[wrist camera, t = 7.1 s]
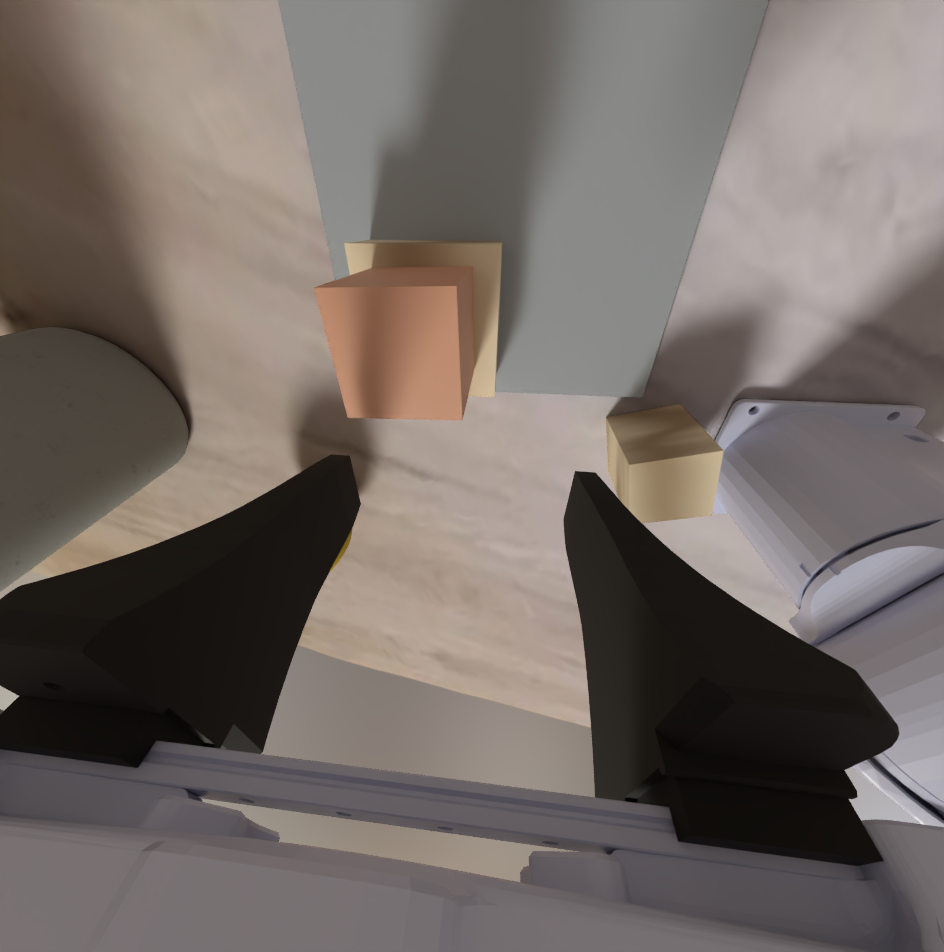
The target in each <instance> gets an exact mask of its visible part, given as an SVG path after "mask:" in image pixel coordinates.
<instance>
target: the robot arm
mask: <svg viewBox="0 0 944 952" xmlns="http://www.w3.org/2000/svg"><path fill="white" fill-rule="evenodd" d="M754 406H755V408H754V410H752V411H750V412H749V410H750V408H752V407H754ZM891 413H892V414H891ZM890 414H891V415H890ZM925 414H926V411H925V409H923V408H921V407H919V406H914V405H888V404H862V403H836V402H810V401H784V400H758V399H741V400H739V401H737V402H736V403H734V404H733V406H732V407H731V409H730V411H729V413H728V415H727V417H726V419H725V421H724V423H723V425H722V427H721V429H720V431H719V433H718V436H717V438H716V440H715V442H716V443H717V444H718V445H719V446H720V447H721V448H722V449H723V450H724V452H723V457H722V463H721V468H720V474H719V479H718V485H717V490H716V496H715V501H714V507H713V512H712V513H714V514H729V516H730V517H731V518H732V520H733V521H734V522H735V524H736V525H737V527H738V528H739V529H740V531H741V532H742V533H743V535H744V536H745V537H746V539H747V540H748V541H749V543H750V544H751V545H752V547H753V548H754V549H755V551H756V552H757V553H758V555H759V556H760V557H761V559H762V560H763V562H764V563H765V564H766V566H767V567H768V568H769V570H770V571H771V572H772V574H773V575H774V576H775V578H776V579H777V580H778V582H779V583H780V584H781V586H782V587H783V588H784V590H785V591H786V593H787V594H788V595H789V597H790V598H791V599H792V601H793V602H794V603H795V605H796V606H797V607H798V609H799V612H798V613H797V614H796V615H795V616H794V617H793V618H791V619H790V620H789V623H790V625H791V626H792V628H793V629H794V630H795V632H796V633H797V635H798V636H799V638H800V639H799V638H797V637H796V636H794V635H792V634H790V633H789V632H787V631H785V630H784V629H782V628H780V627H779V626H777V625H775V624H774V623H772V622H771V621H769V620H767V619H766V618H764V617H763V616H761V615H759V614H758V613H756V612H754V611H753V610H751V609H750V608H748V607H747V606H745V605H744V604H742V603H741V602H739V601H738V600H736V599H735V598H733V597H732V596H730V595H729V594H727V593H726V592H725V591H723V590H722V589H720V588H719V587H717V586H716V585H715V584H713V583H712V582H710V581H709V580H708V579H706V578H705V577H704V576H702V575H701V574H700V573H698V572H697V571H696V570H694V569H693V568H692V567H691V566H689V565H688V564H687V563H686V562H684V561H683V560H682V559H681V558H680V557H678V556H677V555H676V554H675V553H673V552H672V551H671V550H670V549H669V548H668V547H666V546H665V545H664V544H663V543H662V542H661V541H660V540H659V539H658V538H657V537H655V536H654V535H653V534H652V533H651V532H650V531H649V530H648V529H647V528H646V527H645V526H644V525H643V524H642V523H641V522H640V521H639V520H638V519H637V518H636V517H635V516H634V515H633V514H632V513H631V512H630V511H629V510H628V509H627V508H626V507H625V505H624V504H623V503H622V502H621V501H620V500H619V499H618V498H617V497H616V495H615V494H614V493H613V492H612V491H611V490H610V489H609V488H608V486H607V485H606V484H605V483H604V482H603V481H602V480H601V478H600V477H599V476H598V475H597V474H596V473H593V472H579V471H575V474H574V478H573V482H572V487H571V491H570V495H569V499H568V503H567V507H566V512H565V516H564V533H565V544H566V551H567V556H568V561H569V566H570V570H571V575H572V580H573V584H574V589H575V594H576V598H577V603H578V608H579V612H580V618H581V624H582V632H583V641H584V650H585V659H586V670H587V680H588V691H589V704H590V717H591V730H592V746H593V764H594V782H595V797H587V796H579V795H571V794H564V793H556V792H548V791H541V790H532V789H525V788H517V787H510V786H502V785H494V784H487V783H479V782H471V781H464V780H456V779H448V778H440V777H433V776H425V775H418V774H410V773H402V772H394V771H387V770H379V769H371V768H363V767H355V766H348V765H341V764H332V763H325V762H318V761H310V760H302V759H295V758H286V757H279V756H271V755H264V754H261V753H262V752H263V749H264V746H265V742H266V738H267V735H268V732H269V728H270V725H271V722H272V718H273V715H274V712H275V709H276V705H277V702H278V699H279V696H280V693H281V690H282V687H283V684H284V681H285V678H286V675H287V672H288V669H289V666H290V663H291V661H292V658H293V655H294V652H295V650H296V647H297V644H298V642H299V639H300V636H301V634H302V631H303V628H304V626H305V623H306V621H307V619H308V616H309V614H310V611H311V609H312V606H313V604H314V601H315V599H316V597H317V595H318V593H319V591H320V589H321V587H322V585H323V583H324V581H325V579H326V577H327V575H328V574H329V572H330V570H331V568H332V566H333V564H334V562H335V560H336V559H337V557H338V555H339V553H340V551H341V549H342V547H343V545H344V543H345V542H346V540H347V538H348V536H349V534H350V532H351V530H352V527H353V525H354V522H355V519H356V516H357V513H358V511H359V508H360V505H361V503H360V498H359V494H358V490H357V485H356V481H355V477H354V472H353V468H352V464H351V459H350V456H345V455H330V456H328V457H326V458H324V459H322V460H321V461H319V462H317V463H315V464H314V465H312V466H310V467H309V468H307V469H305V470H304V471H302V472H301V473H299V474H297V475H296V476H294V477H292V478H291V479H289V480H287V481H286V482H284V483H282V484H281V485H279V486H278V487H276V488H274V489H272V490H271V491H269V492H267V493H265V494H263V495H262V496H260V497H258V498H256V499H254V500H253V501H251V502H249V503H247V504H245V505H244V506H242V507H240V508H238V509H236V510H234V511H232V512H230V513H228V514H226V515H224V516H222V517H220V518H217V519H215V520H213V521H211V522H209V523H207V524H204V525H202V526H200V527H198V528H195V529H193V530H190V531H188V532H185V533H183V534H180V535H178V536H175V537H173V538H170V539H168V540H165V541H163V542H160V543H158V544H155V545H152V546H150V547H147V548H144V549H141V550H138V551H136V552H133V553H130V554H127V555H124V556H121V557H118V558H115V559H112V560H109V561H106V562H102V563H99V564H96V565H93V566H89V567H86V568H83V569H79V570H76V571H72V572H69V573H65V574H61V575H58V576H54V577H51V578H47V579H44V580H40V581H37V582H33V583H29V584H25V585H22V586H19V587H17V588H16V589H14V590H13V591H11V592H10V593H8V594H7V595H5V596H4V597H3V598H1V599H0V685H1V686H2V687H4V688H6V689H8V690H9V691H11V692H13V693H15V694H17V695H19V697H18V698H17V699H16V700H15V701H14V702H13V703H12V704H11V705H10V706H9V707H8V708H7V709H5V710H4V711H3V710H1V709H0V952H944V442H942V441H940V440H938V439H937V438H935V437H933V436H931V435H929V434H927V433H925V432H923V431H921V430H919V429H917V428H915V427H916V426H917V424H918V423H919V422H920V421H921V420H922V419H923V417H924V416H925ZM889 415H890V416H889ZM852 766H853V767H854V768H855V769H856V770H857V771H858V772H859V773H860V774H861V775H862V776H863V777H864V778H866V779H867V780H868V781H869V782H870V783H871V784H873V785H874V786H875V787H876V788H878V789H879V790H880V791H881V792H883V793H884V794H886V795H887V796H888V797H889V798H891V799H892V800H893V801H894V802H896V803H897V804H898V805H899V806H901V807H902V808H903V809H904V810H905V811H906V812H907V813H909V814H910V815H911V816H912V817H913V818H914V819H915V820H916V821H917V822H918V823H920V824H915V823H907V822H899V821H891V820H863V821H861V820H860V818H859V817H858V815H857V813H856V811H855V810H854V808H853V806H852V805H851V803H850V801H849V799H854V798H856V797H857V791H856V789H855V787H854V786H853V784H852V782H851V780H850V779H849V777H848V776H847V774H846V772H845V771H844V770H845V769H847V768H850V767H852ZM201 798H203V799H210V800H217V801H224V802H231V803H239V804H246V805H253V806H260V807H267V808H274V809H281V810H288V811H296V812H303V813H310V814H317V815H324V816H331V817H338V818H345V819H353V820H359V821H366V822H373V823H381V824H388V825H396V826H403V827H409V828H416V829H424V830H430V831H437V832H445V833H452V834H459V835H467V836H473V837H480V838H487V839H495V840H501V841H509V842H516V843H523V844H530V845H537V846H545V847H552V848H558V849H565V850H573V851H580V852H554V851H551V852H550V851H533V852H532V853H531V855H530V856H529V866H526V867H524V868H523V869H522V870H521V872H520V875H521V876H520V878H521V880H520V881H521V882H515V881H509V880H504V879H499V878H494V877H489V876H483V875H478V874H473V873H467V872H463V871H458V870H452V869H447V868H442V867H435V866H430V865H425V864H420V863H414V862H409V861H403V860H397V859H391V858H384V857H379V856H373V855H367V854H361V853H355V852H348V851H340V850H334V849H327V848H321V847H314V846H307V845H299V844H291V843H283V842H279V839H280V837H279V833H278V832H275V831H273V830H270V829H267V828H265V827H263V826H260V825H258V824H256V823H255V822H253V821H251V820H249V819H247V818H246V817H245V816H244V815H243V813H242V812H241V811H238V810H233V809H229V808H225V807H221V806H217V805H212V804H208V803H205V802H202V799H201Z"/></svg>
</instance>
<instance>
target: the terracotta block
mask: <svg viewBox="0 0 944 952" xmlns="http://www.w3.org/2000/svg"><path fill="white" fill-rule="evenodd" d="M314 290H315V294H316V298H317V302H318V305H319V309H320V313H321V317H322V321H323V325H324V328H325V332H326V336H327V340H328V344H329V348H330V351H331V355H332V359H333V363H334V367H335V371H336V374H337V378H338V382H339V386H340V390H341V394H342V397H343V401H344V405H345V409H346V413H347V417H348V418H382V419H430V420H462V419H463V415H464V411H465V407H466V403H467V398H468V394H469V390H470V386H471V382H472V377H473V373H474V369H475V368H474V314H473V266H452V267H393V268H370V269H367V270H364V271H361V272H358V273H355V274H352V275H349V276H347V277H344V278H341V279H338V280H335V281H332V282H329V283H326V284H323V285H320V286H318V287H315V288H314Z"/></svg>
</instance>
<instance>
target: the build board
mask: <svg viewBox="0 0 944 952" xmlns="http://www.w3.org/2000/svg"><path fill="white" fill-rule="evenodd" d="M278 1H279V6H280V11H281V16H282V21H283V26H284V31H285V36H286V41H287V46H288V51H289V55H290V60H291V65H292V70H293V75H294V80H295V85H296V90H297V95H298V100H299V105H300V110H301V115H302V119H303V124H304V129H305V134H306V139H307V144H308V149H309V154H310V159H311V164H312V169H313V174H314V179H315V183H316V188H317V193H318V198H319V203H320V208H321V213H322V218H323V223H324V228H325V233H326V238H327V242H328V247H329V252H330V257H331V262H332V267H333V272H334V277H335V280H338V279H341V278H344V277H347V276H349V275H350V273H349V267H348V262H347V256H346V251H345V245H344V243H350V242H357V241H364V240H459V241H503V248H502V269H501V290H500V311H499V332H498V353H497V374H496V386H495V392H512V393H538V394H564V395H589V396H615V397H641V398H643V395H644V392H645V389H646V386H647V382H648V379H649V376H650V373H651V370H652V367H653V364H654V360H655V357H656V354H657V351H658V348H659V345H660V341H661V338H662V335H663V332H664V329H665V326H666V323H667V319H668V316H669V313H670V310H671V307H672V304H673V301H674V297H675V294H676V291H677V288H678V285H679V282H680V279H681V275H682V272H683V269H684V266H685V263H686V260H687V257H688V253H689V250H690V247H691V244H692V241H693V238H694V234H695V231H696V228H697V225H698V222H699V219H700V216H701V212H702V209H703V206H704V203H705V200H706V197H707V194H708V190H709V187H710V184H711V181H712V178H713V175H714V172H715V168H716V165H717V162H718V159H719V156H720V153H721V149H722V146H723V143H724V140H725V137H726V134H727V131H728V127H729V124H730V121H731V118H732V115H733V112H734V109H735V105H736V102H737V99H738V96H739V93H740V90H741V87H742V83H743V80H744V77H745V74H746V71H747V68H748V65H749V61H750V58H751V55H752V52H753V49H754V46H755V42H756V39H757V36H758V33H759V30H760V27H761V24H762V20H763V17H764V14H765V11H766V8H767V5H768V2H769V0H278Z"/></svg>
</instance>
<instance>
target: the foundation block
mask: <svg viewBox="0 0 944 952" xmlns="http://www.w3.org/2000/svg"><path fill="white" fill-rule="evenodd" d="M344 245H345V251H346V256H347V262H348V267H349V273H350V275H352V274H355V273H358V272H361V271H364V270H367V269H370V268H393V267H452V266H473V314H474V368H475V369H474V373H473V377H472V382H471V386H470V390H469V394H468V396H481V397H495V386H496V374H497V353H498V332H499V311H500V290H501V269H502V248H503V241H459V240H364V241H357V242H350V243H344Z"/></svg>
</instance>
